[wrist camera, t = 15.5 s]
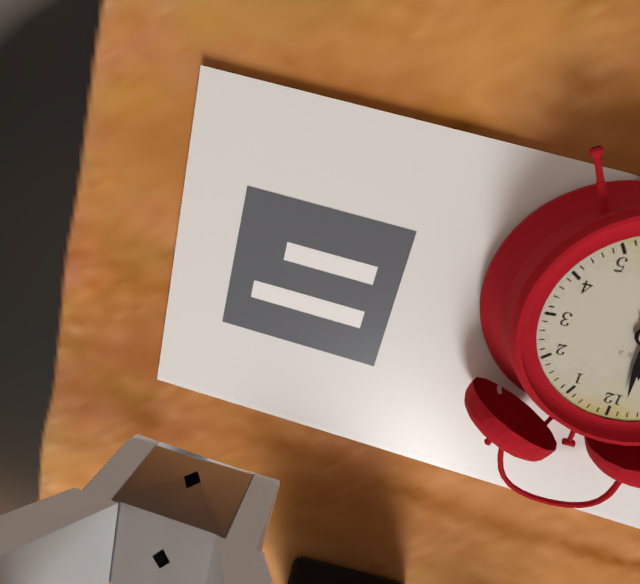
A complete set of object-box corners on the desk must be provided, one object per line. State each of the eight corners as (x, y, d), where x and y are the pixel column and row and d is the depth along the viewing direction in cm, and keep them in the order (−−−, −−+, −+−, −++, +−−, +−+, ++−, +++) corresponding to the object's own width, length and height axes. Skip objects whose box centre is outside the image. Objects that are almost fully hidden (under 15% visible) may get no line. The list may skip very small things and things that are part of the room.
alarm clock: (902, 185, 14) (754, 621, 16) (742, 205, 20) (647, 517, 22) (557, 124, 15) (451, 540, 17) (504, 161, 21) (430, 463, 23)
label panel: (923, 247, 18) (935, 250, 18) (712, 546, 23) (717, 553, 23) (204, 66, 20) (200, 65, 20) (160, 375, 26) (156, 379, 25)
